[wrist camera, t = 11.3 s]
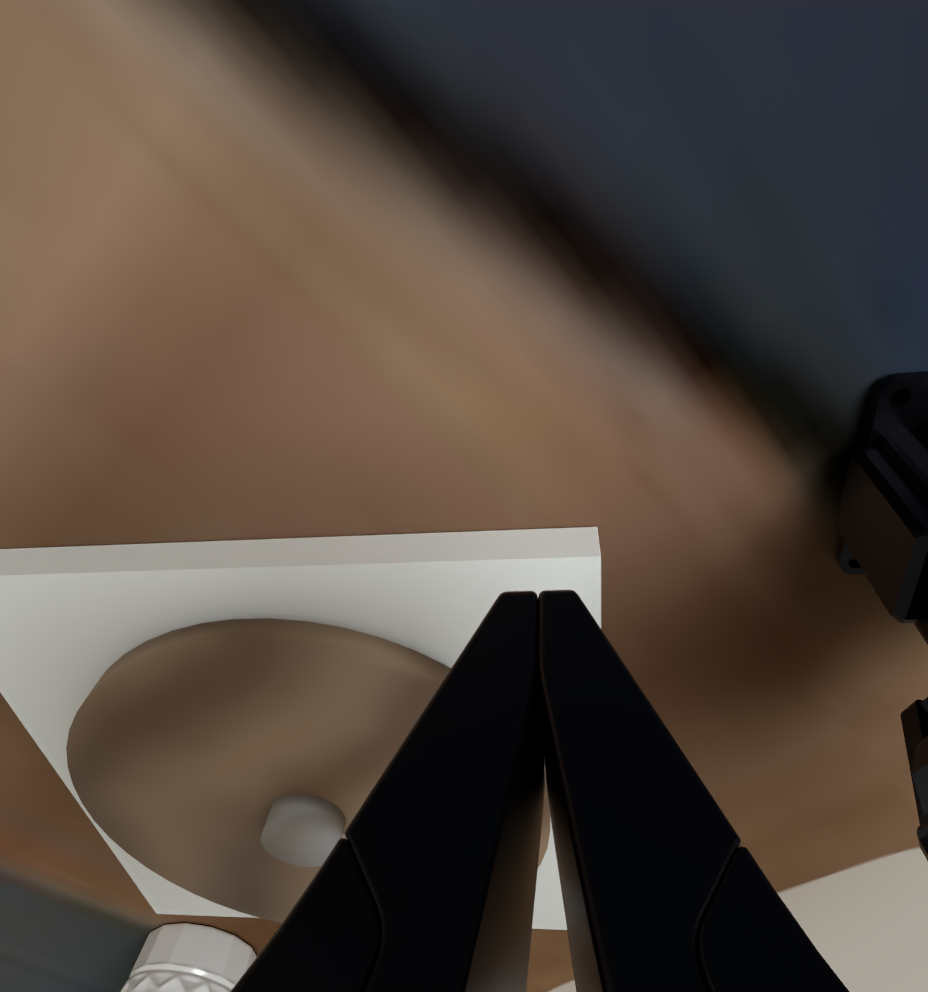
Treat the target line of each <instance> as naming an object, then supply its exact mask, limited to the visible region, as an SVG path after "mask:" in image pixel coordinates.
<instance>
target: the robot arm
mask: <svg viewBox="0 0 928 992" xmlns="http://www.w3.org/2000/svg"><path fill="white" fill-rule="evenodd" d="M902 388H903V389H904V391H903V393H902V394H901V395H900V396H899V397H898V398H896V399H892V400H889V398H890V396H891V394H892V393H893V392H895V391H896V390H898V389H902ZM836 528H837V529H838V531H839V533H840V536H839V540H838V544H837V548H836V553H835V559H836V561H837V563H838V565H839V566H840V568H841V569H842V571H843V572H845V573H847V574H865V575H866V576H867V578H868V580H869V581H870V583H871V584H872V586H873V588H874V589H875V591H876V593H877V594H878V596H879V597H880V599H881V601H882V602H883V604H884V606H885V607H886V609H887V610H888V612H889V614H890V615H891V616H892V617H893V618H895V619H896V620H897V621H898V622H899V623H914V624H915V626H916V628H917V629H918V631H919V632H920V634H921V635H922V637H923V638H924V640H925V641H926V643H927V644H928V372H914V373H898V374H893V375H889V376H887V377H886V378H884V379H882V380H881V381H880V382H879V383H878V384H877V385H876V387H875V389H874V392H873V395H872V400H871V404H870V408H869V412H868V417H867V421H866V425H865V429H864V434H863V438H862V442H861V446H860V448H859V449H858V450H857V451H856V452H855V453H854V454H853V455H852V456H851V459H850V463H849V468H848V472H847V477H846V481H845V485H844V490H843V494H842V498H841V503H840V507H839V512H838V516H837V520H836ZM852 557H855V559H854V560H850V559H851V558H852ZM901 721H902V726H903V732H904V738H905V743H906V749H907V754H908V760H909V766H910V771H911V777H912V783H913V788H914V794H915V799H916V805H917V811H918V816H919V822H920V826H919V827H918V829H917V836H918V840H919V844H920V848H921V850H922V851H923V853H924V855H925V857H926V859H927V860H928V697H927V698H925V699H924V700H923V701H922V700H916V701H915V702H914V703H912V704H911V705H910V706H909V707H908V708H906V709H905V710H904V711H903V712H902V713H901ZM545 772H546V785H547V794H548V803H549V811H550V817H551V824H552V831H553V838H554V844H555V851H556V858H557V864H558V871H559V878H560V884H561V891H562V898H563V904H564V911H565V918H566V925H567V931H568V938H569V945H570V951H571V958H572V965H573V971H574V978H575V985H576V991H577V992H849V991H848V989H847V988H846V987H845V986H844V984H843V983H842V982H841V981H840V979H839V978H838V977H837V975H836V974H835V973H834V972H833V970H832V969H831V968H830V966H829V965H828V964H827V962H826V961H825V960H824V959H823V957H822V956H821V955H820V953H819V952H818V951H817V949H816V948H815V946H814V945H813V944H812V942H811V941H810V939H809V938H808V937H807V935H806V934H805V932H804V931H803V929H802V928H801V927H800V925H799V924H798V922H797V921H796V919H795V918H794V917H793V916H792V914H791V912H790V911H789V910H788V908H787V907H786V905H785V904H784V903H783V901H782V900H781V898H780V897H779V895H778V894H777V893H776V891H775V890H774V888H773V887H772V885H771V884H770V882H769V881H768V879H767V878H766V876H765V875H764V873H763V872H762V870H761V869H760V867H759V866H758V864H757V863H756V861H755V860H754V858H753V857H752V855H751V854H750V852H749V851H748V849H747V848H745V847H740V843H741V840H740V838H739V836H738V835H737V833H736V832H735V830H734V829H733V827H732V826H731V824H730V823H729V821H728V820H727V818H726V817H725V815H724V814H723V812H722V811H721V809H720V808H719V806H718V805H717V803H716V802H715V800H714V799H713V797H712V796H711V794H710V793H709V791H708V790H707V788H706V787H705V785H704V784H703V782H702V781H701V779H700V777H699V776H698V774H697V773H696V771H695V770H694V768H693V767H692V765H691V764H690V762H689V761H688V759H687V758H686V756H685V755H684V753H683V752H682V750H681V749H680V747H679V746H678V744H677V743H676V741H675V740H674V738H673V737H672V735H671V734H670V732H669V731H668V729H667V728H666V726H665V725H664V723H663V722H662V720H661V719H660V717H659V716H658V714H657V713H656V711H655V710H654V708H653V707H652V705H651V704H650V702H649V701H648V699H647V698H646V696H645V695H644V693H643V692H642V690H641V689H640V687H639V686H638V684H637V683H636V681H635V680H634V678H633V677H632V675H631V674H630V672H629V671H628V669H627V668H626V666H625V665H624V663H623V662H622V660H621V658H620V657H619V655H618V654H617V652H616V651H615V649H614V648H613V646H612V645H611V643H610V642H609V640H608V639H607V637H606V636H605V634H604V633H603V631H602V630H601V628H600V627H599V625H598V624H597V622H596V621H595V619H594V618H593V616H592V615H591V613H590V612H589V610H588V609H587V607H586V606H585V604H584V603H583V601H582V600H581V598H580V597H579V595H578V594H577V593H576V592H575V591H573V590H545V591H542V592H540V594H539V596H537V594H536V593H535V592H534V591H506V592H503V593H501V594H500V595H499V596H498V598H497V599H496V601H495V602H494V604H493V605H492V607H491V608H490V610H489V611H488V613H487V614H486V616H485V617H484V619H483V620H482V622H481V624H480V625H479V627H478V628H477V630H476V631H475V633H474V634H473V636H472V637H471V639H470V640H469V642H468V643H467V645H466V647H465V648H464V650H463V651H462V653H461V654H460V656H459V657H458V659H457V660H456V662H455V663H454V665H453V666H452V668H451V669H450V671H449V673H448V674H447V676H446V677H445V679H444V680H443V682H442V683H441V685H440V686H439V688H438V689H437V691H436V692H435V694H434V695H433V697H432V699H431V700H430V702H429V703H428V705H427V706H426V708H425V709H424V711H423V712H422V714H421V715H420V717H419V718H418V720H417V721H416V723H415V725H414V726H413V728H412V729H411V731H410V732H409V734H408V735H407V737H406V738H405V740H404V741H403V743H402V744H401V746H400V748H399V749H398V751H397V752H396V754H395V755H394V757H393V758H392V760H391V761H390V763H389V764H388V766H387V767H386V769H385V770H384V772H383V774H382V775H381V777H380V778H379V780H378V781H377V783H376V784H375V786H374V787H373V789H372V790H371V792H370V793H369V795H368V796H367V798H366V800H365V801H364V803H363V804H362V806H361V807H360V809H359V810H358V812H357V813H356V815H355V816H354V818H353V819H352V821H351V823H350V824H349V826H348V827H347V829H346V830H345V836H346V839H345V838H340V839H339V840H338V842H337V843H336V845H335V846H334V848H333V849H332V851H331V852H330V854H329V856H328V857H327V859H326V860H325V862H324V863H323V865H322V866H321V868H320V869H319V871H318V872H317V874H316V876H315V877H314V878H313V880H312V881H311V883H310V884H309V886H308V887H307V889H306V890H305V891H304V893H303V894H302V896H301V897H300V899H299V900H298V901H297V903H296V904H295V906H294V907H293V909H292V910H291V912H290V913H289V914H288V916H287V917H286V919H285V920H284V922H283V923H282V925H281V926H280V927H279V929H278V930H277V932H276V933H275V934H274V936H273V937H272V938H271V939H270V941H269V942H268V943H267V945H266V946H265V947H264V948H263V950H262V951H261V952H260V954H259V955H258V956H257V958H256V959H255V960H254V961H253V963H252V964H251V965H250V967H249V968H248V969H247V971H246V972H245V973H244V974H243V976H242V977H241V978H240V980H239V981H238V982H237V983H236V985H235V986H234V987H233V989H232V990H231V991H230V992H526V984H527V974H528V964H529V953H530V943H531V932H532V922H533V912H534V901H535V891H536V880H537V870H538V860H539V849H540V839H541V829H542V818H543V807H544V792H545Z"/></svg>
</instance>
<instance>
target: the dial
mask: <svg viewBox="0 0 928 992" xmlns="http://www.w3.org/2000/svg"><path fill="white" fill-rule="evenodd" d="M450 669H451V668H449V667H448V666H446V665H444V664H442V663H440V662H438V661H436V660H434V659H432V658H430V657H427V656H425V655H423V654H421V653H419V652H417V651H415V650H413V649H410V648H407V647H405V646H402V645H399V644H397V643H394V642H391V641H388V640H386V639H383V638H380V637H377V636H373V635H370V634H366V633H362V632H358V631H355V630H351V629H347V628H344V627H338V626H332V625H326V624H321V623H315V622H309V621H299V620H286V619H273V618H258V619H231V620H223V621H215V622H208V623H201V624H197V625H193V626H189V627H185V628H181V629H177V630H173V631H170V632H168V633H165V634H163V635H160V636H158V637H155V638H153V639H150V640H148V641H145V642H144V643H142V644H140V645H139V646H137V647H135V648H134V649H132V650H130V651H129V652H127V653H125V654H124V655H123V656H122V657H120V658H119V659H118V660H117V661H116V662H115V663H114V664H112V665H111V666H110V667H109V668H108V669H107V670H106V671H105V673H104V674H103V675H102V677H101V678H100V679H99V681H98V682H97V683H96V685H95V686H94V687H93V689H92V690H91V692H90V693H89V695H88V696H87V698H86V699H85V701H84V702H83V704H82V705H81V707H80V708H79V709H78V711H77V713H76V715H75V717H74V720H73V722H72V724H71V727H70V729H69V734H68V740H67V746H66V752H67V765H68V770H69V773H70V777H71V780H72V783H73V786H74V788H75V790H76V792H77V794H78V796H79V798H80V800H81V802H82V804H83V805H84V807H85V808H86V810H87V811H88V813H89V814H90V815H91V817H92V818H93V820H94V821H95V822H96V823H97V824H98V825H99V827H100V828H101V829H102V830H103V831H104V832H105V833H106V834H107V835H108V836H109V838H111V839H112V840H113V841H114V842H115V843H116V844H117V845H118V846H120V847H121V848H122V849H123V850H124V851H125V852H126V853H128V854H129V855H130V856H132V857H133V858H134V859H136V860H137V861H138V862H140V863H141V864H143V865H144V866H145V867H147V868H148V869H150V870H151V871H153V872H155V873H156V874H158V875H160V876H161V877H163V878H164V879H166V880H168V881H170V882H171V883H173V884H175V885H177V886H179V887H181V888H183V889H185V890H187V891H189V892H191V893H193V894H195V895H198V896H200V897H202V898H205V899H207V900H209V901H211V902H214V903H216V904H219V905H222V906H225V907H227V908H230V909H233V910H236V911H239V912H242V913H245V914H249V915H252V916H255V917H259V918H262V919H266V920H270V921H275V922H279V923H283V922H284V920H285V919H286V917H287V916H288V914H289V913H290V912H291V910H292V909H293V907H294V906H295V904H296V903H297V901H298V900H299V899H300V897H301V896H302V894H303V893H304V891H305V890H306V889H307V887H308V886H309V884H310V883H311V881H312V880H313V878H314V877H315V876H316V874H317V872H318V871H319V869H320V868H321V866H322V865H323V863H324V862H325V860H326V859H327V857H328V856H329V854H330V852H331V851H332V849H333V848H334V846H335V845H336V843H337V842H338V840H339V839H340V838H345V839H346V836H345V830H346V829H347V827H348V826H349V824H350V823H351V821H352V819H353V818H354V816H355V815H356V813H357V812H358V810H359V809H360V807H361V806H362V804H363V803H364V801H365V800H366V798H367V796H368V795H369V793H370V792H371V790H372V789H373V787H374V786H375V784H376V783H377V781H378V780H379V778H380V777H381V775H382V774H383V772H384V770H385V769H386V767H387V766H388V764H389V763H390V761H391V760H392V758H393V757H394V755H395V754H396V752H397V751H398V749H399V748H400V746H401V744H402V743H403V741H404V740H405V738H406V737H407V735H408V734H409V732H410V731H411V729H412V728H413V726H414V725H415V723H416V721H417V720H418V718H419V717H420V715H421V714H422V712H423V711H424V709H425V708H426V706H427V705H428V703H429V702H430V700H431V699H432V697H433V695H434V694H435V692H436V691H437V689H438V688H439V686H440V685H441V683H442V682H443V680H444V679H445V677H446V676H447V674H448V673H449V671H450ZM549 836H550V811H549V803H548V794H547V785H546V772H545V792H544V807H543V818H542V829H541V839H540V849H539V860H538V867H539V866H540V864H541V862H542V860H543V858H544V855H545V853H546V850H547V848H548V842H549Z"/></svg>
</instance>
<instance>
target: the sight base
mask: <svg viewBox="0 0 928 992" xmlns="http://www.w3.org/2000/svg"><path fill="white" fill-rule="evenodd" d="M545 590H573V591H575V592H576V593H577V594H578V595H579V597H580V598H581V600H582V601H583V603H584V604H585V606H586V607H587V609H588V610H589V612H590V613H591V615H592V616H593V618H594V619H595V621H596V622H597V624H598V625H599V627H600V628H601V552H600V544H599V536H598V529H597V527H578V528H551V529H525V530H498V531H471V532H445V533H418V534H391V535H365V536H338V537H311V538H285V539H258V540H232V541H205V542H178V543H152V544H125V545H98V546H72V547H45V548H18V549H0V693H1V694H2V696H3V697H4V698H5V700H6V701H7V703H8V704H9V705H10V707H11V708H12V710H13V711H14V713H15V714H16V715H17V717H18V718H19V720H20V721H21V722H22V724H23V725H24V727H25V728H26V730H27V731H28V732H29V734H30V735H31V737H32V738H33V739H34V741H35V742H36V744H37V745H38V747H39V748H40V749H41V751H42V752H43V754H44V755H45V756H46V758H47V759H48V761H49V762H50V764H51V765H52V766H53V768H54V769H55V771H56V772H57V773H58V775H59V776H60V778H61V779H62V781H63V782H64V783H65V785H66V786H67V788H68V789H69V790H70V792H71V793H72V795H73V796H74V798H75V799H76V800H77V802H78V803H79V805H80V806H81V808H82V809H83V810H84V812H85V813H86V815H87V816H88V817H89V819H90V820H91V822H92V823H93V825H94V826H95V827H96V829H97V830H98V832H99V833H100V834H101V836H102V837H103V839H104V840H105V842H106V843H107V844H108V846H109V847H110V849H111V850H112V851H113V853H114V854H115V856H116V857H117V859H118V860H119V861H120V863H121V864H122V866H123V867H124V868H125V870H126V871H127V873H128V874H129V876H130V877H131V878H132V880H133V881H134V883H135V884H136V885H137V887H138V888H139V890H140V891H141V893H142V894H143V895H144V897H145V898H146V900H147V901H148V902H149V904H150V905H151V907H152V908H153V910H154V911H155V912H156V914H173V915H199V916H224V917H250V918H259V917H255V916H252V915H249V914H245V913H242V912H239V911H236V910H233V909H230V908H227V907H225V906H222V905H219V904H216V903H214V902H211V901H209V900H207V899H205V898H202V897H200V896H198V895H195V894H193V893H191V892H189V891H187V890H185V889H183V888H181V887H179V886H177V885H175V884H173V883H171V882H170V881H168V880H166V879H164V878H163V877H161V876H160V875H158V874H156V873H155V872H153V871H151V870H150V869H148V868H147V867H145V866H144V865H143V864H141V863H140V862H138V861H137V860H136V859H134V858H133V857H132V856H130V855H129V854H128V853H126V852H125V851H124V850H123V849H122V848H121V847H120V846H118V845H117V844H116V843H115V842H114V841H113V840H112V839H111V838H109V836H108V835H107V834H106V833H105V832H104V831H103V830H102V829H101V828H100V827H99V825H98V824H97V823H96V822H95V821H94V820H93V818H92V817H91V815H90V814H89V813H88V811H87V810H86V808H85V807H84V805H83V804H82V802H81V800H80V798H79V796H78V794H77V792H76V790H75V788H74V786H73V783H72V780H71V777H70V773H69V770H68V765H67V752H66V746H67V740H68V734H69V729H70V727H71V724H72V722H73V720H74V717H75V715H76V713H77V711H78V709H79V708H80V707H81V705H82V704H83V702H84V701H85V699H86V698H87V696H88V695H89V693H90V692H91V690H92V689H93V687H94V686H95V685H96V683H97V682H98V681H99V679H100V678H101V677H102V675H103V674H104V673H105V671H106V670H107V669H108V668H109V667H110V666H111V665H112V664H114V663H115V662H116V661H117V660H118V659H119V658H120V657H122V656H123V655H124V654H125V653H127V652H129V651H130V650H132V649H134V648H135V647H137V646H139V645H140V644H142V643H144V642H145V641H148V640H150V639H153V638H155V637H158V636H160V635H163V634H165V633H168V632H170V631H173V630H177V629H181V628H185V627H189V626H193V625H197V624H201V623H208V622H215V621H223V620H231V619H258V618H273V619H286V620H299V621H309V622H315V623H321V624H326V625H332V626H338V627H344V628H347V629H351V630H355V631H358V632H362V633H366V634H370V635H373V636H377V637H380V638H383V639H386V640H388V641H391V642H394V643H397V644H399V645H402V646H405V647H407V648H410V649H413V650H415V651H417V652H419V653H421V654H423V655H425V656H427V657H430V658H432V659H434V660H436V661H438V662H440V663H442V664H444V665H446V666H448V667H449V668H452V666H453V665H454V663H455V662H456V660H457V659H458V657H459V656H460V654H461V653H462V651H463V650H464V648H465V647H466V645H467V643H468V642H469V640H470V639H471V637H472V636H473V634H474V633H475V631H476V630H477V628H478V627H479V625H480V624H481V622H482V620H483V619H484V617H485V616H486V614H487V613H488V611H489V610H490V608H491V607H492V605H493V604H494V602H495V601H496V599H497V598H498V596H499V595H500V594H501V593H503V592H506V591H534V592H535V593H536V594H537V596H539V594H540V592H542V591H545ZM532 929H555V930H567V925H566V918H565V911H564V904H563V898H562V891H561V884H560V878H559V871H558V864H557V858H556V851H555V844H554V838H553V831H552V824H551V817H550V836H549V842H548V848H547V850H546V853H545V855H544V858H543V860H542V862H541V864H540V866H539V867H538V870H537V880H536V891H535V901H534V912H533V922H532Z"/></svg>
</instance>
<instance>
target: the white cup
mask: <svg viewBox="0 0 928 992" xmlns="http://www.w3.org/2000/svg"><path fill="white" fill-rule="evenodd" d="M256 958H257V956H256V954H255V952H254V950H253V949H252V947H251V946H249V945H248V944H247V943H245V942H244V941H242V940H241V939H239V938H238V937H236V936H235V935H232V934H229V933H227V932H224V931H223V930H219V929H216V928H214V927H209V926H203V925H197V924H190V923H178V924H167V925H163V926H161V927H159V928H157V929H155V930H154V931H152V932H150V934H149V935H148V937H147V939H146V942H145V944H144V946H143V948H142V950H141V952H140V954H139V957H138V959H137V961H136V963H135V965H134V967H133V969H132V971H131V973H130V976H129V980H128V981H127V982H126V983H125V985H124V986H123V987H122V989H121V990H120V992H230V991H231V990H232V989H233V987H234V986H235V985H236V983H237V982H238V981H239V980H240V978H241V977H242V976H243V974H244V973H245V972H246V971H247V969H248V968H249V967H250V965H251V964H252V963H253V961H254V960H255V959H256Z"/></svg>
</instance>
